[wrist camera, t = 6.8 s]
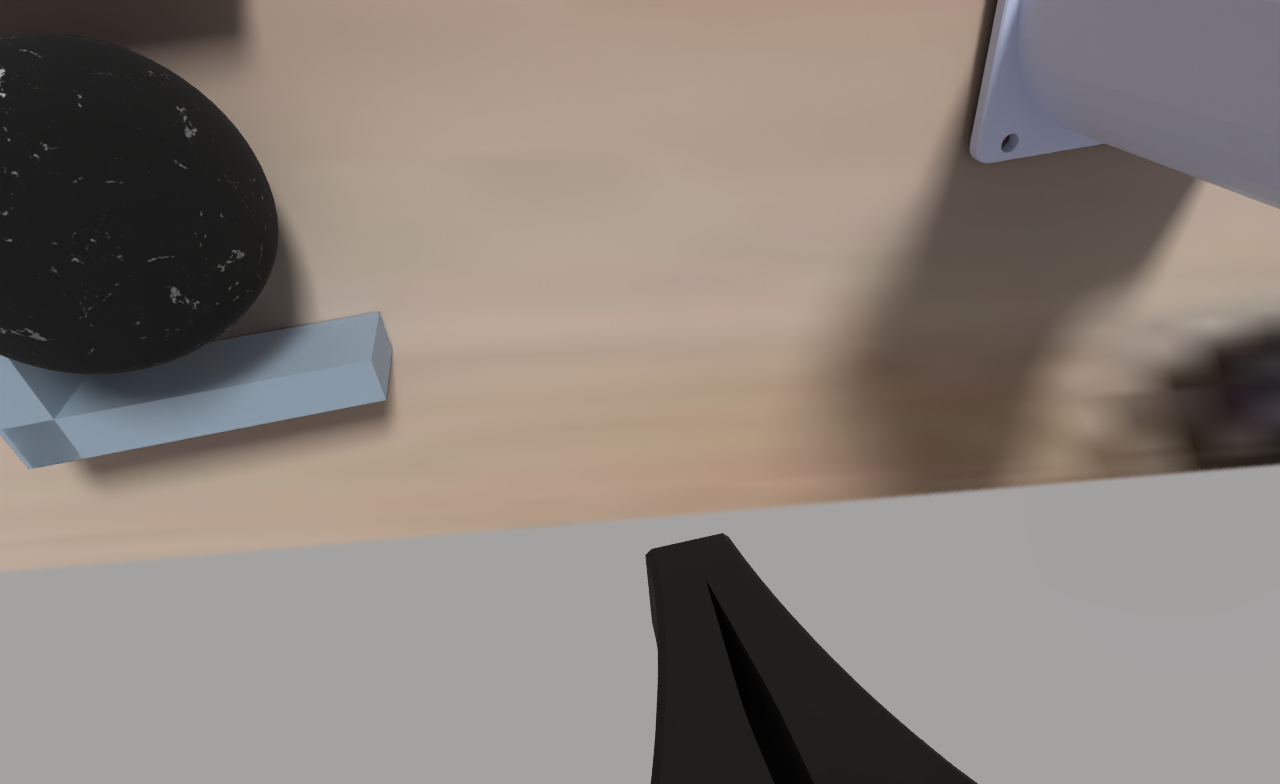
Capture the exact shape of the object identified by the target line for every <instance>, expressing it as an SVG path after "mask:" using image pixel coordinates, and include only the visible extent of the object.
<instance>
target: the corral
mask: <svg viewBox="0 0 1280 784" xmlns="http://www.w3.org/2000/svg"><path fill="white" fill-rule="evenodd" d="M391 356H392V346H391V344H390V341H389V338H388V335H387V332H386V329H385V326H384V324H383V321H382V318H381V315H380V312H375V313H370V314H364V315H358V316H353V317H347V318H342V319H336V320H330V321H325V322H319V323H313V324H308V325H302V326H297V327H291V328H285V329H280V330H274V331H268V332H263V333H257V334H252V335H246V336H240V337H235V338H229V339H223V340H218V341H212V342H210V343H208V344H206V345H205V346H203V347H201V348H199V349H198V350H196V351H194V352H192V353H190V354H188V355H186V356H183V357H181V358H179V359H176V360H173V361H171V362H168V363H165V364H162V365H159V366H155V367H151V368H147V369H143V370H137V371H131V372H125V373H116V374H76V373H66V372H60V371H53V370H48V369H43V368H39V367H35V366H31V365H28V364H24V363H21V362H18V361H15V360H12V359H9V358H6V357H4V356H2V355H0V435H1V436H2V437H3V439H4V440H5V441H6V442H7V443H8V445H9V446H10V447H11V448H12V450H13V451H14V452H15V453H16V454H17V456H18V457H19V458H20V459H21V461H22V462H23V463H24V464H25V465H26V467H27V468H28V469H33V468H38V467H43V466H49V465H54V464H59V463H64V462H69V461H74V460H80V459H85V458H90V457H95V456H100V455H105V454H111V453H116V452H121V451H126V450H131V449H136V448H142V447H147V446H152V445H157V444H162V443H167V442H172V441H178V440H183V439H188V438H193V437H198V436H203V435H209V434H214V433H219V432H224V431H229V430H234V429H240V428H245V427H250V426H255V425H260V424H265V423H271V422H276V421H281V420H286V419H291V418H296V417H301V416H307V415H312V414H317V413H322V412H327V411H332V410H338V409H343V408H348V407H353V406H358V405H363V404H369V403H374V402H379V401H384V400H386V396H387V388H388V380H389V372H390V364H391Z"/></svg>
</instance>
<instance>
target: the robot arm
mask: <svg viewBox="0 0 1280 784" xmlns="http://www.w3.org/2000/svg"><path fill="white" fill-rule="evenodd" d="M1007 135H1010V138H1009V140H1008V143H1007V144H1006V145H1005V146H1004V147H1002V148H1001V144H1002V142H1003V140H1004V139H1005V138H1006V136H1007ZM1100 144H1107V145H1110V146H1113V147H1115V148H1118V149H1121V150H1123V151H1126V152H1129V153H1131V154H1134V155H1137V156H1139V157H1142V158H1145V159H1147V160H1150V161H1153V162H1156V163H1158V164H1161V165H1164V166H1166V167H1169V168H1172V169H1174V170H1177V171H1180V172H1182V173H1185V174H1188V175H1190V176H1193V177H1196V178H1198V179H1201V180H1204V181H1206V182H1209V183H1212V184H1214V185H1217V186H1220V187H1222V188H1225V189H1228V190H1230V191H1233V192H1236V193H1238V194H1241V195H1244V196H1246V197H1249V198H1252V199H1255V200H1257V201H1260V202H1263V203H1265V204H1268V205H1271V206H1273V207H1276V208H1279V209H1280V0H998V2H997V7H996V12H995V17H994V23H993V28H992V33H991V38H990V43H989V49H988V54H987V59H986V64H985V69H984V75H983V80H982V85H981V90H980V95H979V100H978V106H977V111H976V116H975V121H974V126H973V132H972V137H971V142H970V153H971V155H972V157H973V158H975V159H976V160H978V161H980V162H982V163H994V162H999V161H1005V160H1011V159H1017V158H1023V157H1029V156H1035V155H1041V154H1047V153H1052V152H1058V151H1064V150H1070V149H1076V148H1082V147H1088V146H1094V145H1100ZM646 565H647V575H648V586H649V595H650V605H651V615H652V624H653V628H654V632H655V637H656V642H657V647H658V691H657V713H656V732H655V745H654V757H653V768H652V777H651V784H977V783H976V782H975V781H973V780H972V779H970V778H969V777H968V776H967V775H965V774H964V773H963V772H961V771H960V770H959V769H957V768H956V767H955V766H953V765H952V764H951V763H950V762H948V761H947V760H946V759H945V758H943V757H942V756H941V755H940V754H938V753H937V752H936V751H935V750H934V749H932V748H931V747H930V746H929V745H927V744H926V743H925V742H924V741H923V740H921V739H920V738H919V737H918V736H916V735H915V734H914V733H913V732H911V731H910V730H909V729H908V728H907V727H906V726H905V725H904V724H902V723H901V722H900V721H899V720H898V719H897V718H896V717H894V716H893V715H892V714H891V713H890V712H889V711H887V710H886V709H885V708H884V707H883V706H882V705H881V704H880V703H879V702H878V701H876V700H875V699H874V698H873V697H872V696H871V695H870V694H869V693H868V692H867V691H866V690H865V689H863V688H862V687H861V686H860V685H859V684H858V683H857V682H856V681H855V680H854V679H853V678H852V677H851V676H850V675H849V674H848V673H847V672H846V671H845V670H844V669H843V668H842V667H841V666H840V665H839V664H838V663H836V661H834V660H833V658H832V657H831V656H830V655H829V654H828V653H827V652H826V651H825V650H824V649H823V648H822V647H821V646H820V645H819V644H818V643H817V642H816V641H815V640H814V639H813V638H812V637H811V635H810V634H809V633H808V632H807V631H806V630H805V629H804V628H803V627H802V626H801V625H800V624H799V622H798V621H797V620H796V619H795V618H794V617H793V616H792V615H791V614H790V613H789V612H788V611H787V609H786V608H785V607H784V606H783V605H782V604H781V603H780V601H779V600H778V599H777V598H776V597H775V596H774V594H773V593H772V592H771V591H770V590H769V588H768V587H767V586H766V585H765V584H764V582H763V581H762V580H761V579H760V578H759V576H758V575H757V574H756V573H755V571H754V570H753V569H752V568H751V566H750V565H749V564H748V562H747V561H746V560H745V559H744V557H743V556H742V555H741V553H740V552H739V551H738V549H737V548H736V546H735V545H734V544H733V542H732V541H731V539H730V538H729V537H728V536H726V535H724V534H723V533H721V534H717V535H712V536H708V537H703V538H699V539H694V540H690V541H685V542H681V543H676V544H672V545H667V546H663V547H658V548H654V549H651V550H650V551H649V552H648V553H647V554H646Z"/></svg>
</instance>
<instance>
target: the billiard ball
mask: <svg viewBox="0 0 1280 784" xmlns="http://www.w3.org/2000/svg"><path fill="white" fill-rule="evenodd" d="M277 245H278V222H277V213H276V208H275V203H274V199H273V195H272V192H271V189H270V186H269V183H268V181H267V179H266V176H265V174H264V172H263V169H262V167H261V165H260V163H259V162H258V160H257V158H256V156H255V154H254V152H253V151H252V149H251V148H250V146H249V145H248V143H247V141H246V140H245V139H244V137H243V136H242V135H241V133H240V132H239V131H238V129H237V128H236V127H235V126H234V124H233V123H232V122H231V121H230V120H229V119H228V118H227V117H226V115H225V114H224V113H223V112H222V111H221V110H220V109H219V108H218V107H217V106H216V105H215V104H214V103H213V102H212V101H210V100H209V99H208V98H207V97H206V96H205V95H203V94H202V93H201V92H200V91H199V90H197V89H196V88H195V87H193V86H192V85H191V84H189V83H188V82H187V81H185V80H184V79H183V78H181V77H179V76H178V75H176V74H175V73H173V72H172V71H170V70H169V69H167V68H165V67H163V66H161V65H160V64H158V63H156V62H154V61H152V60H150V59H148V58H146V57H144V56H141V55H139V54H137V53H135V52H132V51H130V50H127V49H124V48H122V47H119V46H116V45H113V44H110V43H106V42H102V41H98V40H94V39H89V38H82V37H76V36H69V35H52V34H36V35H19V36H13V37H6V38H0V355H2V356H4V357H6V358H9V359H12V360H15V361H18V362H21V363H24V364H28V365H31V366H35V367H39V368H43V369H48V370H53V371H60V372H66V373H76V374H116V373H125V372H131V371H137V370H143V369H147V368H151V367H155V366H159V365H162V364H165V363H168V362H171V361H173V360H176V359H179V358H181V357H183V356H186V355H188V354H190V353H192V352H194V351H196V350H198V349H199V348H201V347H203V346H205V345H206V344H208V343H210V342H211V341H213V340H214V339H215V338H217V337H218V336H219V335H221V334H222V333H223V332H225V331H226V330H227V329H229V328H230V327H231V326H232V325H233V324H234V323H235V322H236V321H238V320H239V319H240V318H241V317H242V315H243V314H244V313H245V312H246V311H247V310H248V309H249V308H250V306H251V305H252V304H253V303H254V301H255V300H256V298H257V297H258V295H259V294H260V292H261V291H262V289H263V288H264V286H265V284H266V282H267V280H268V278H269V275H270V273H271V270H272V267H273V264H274V261H275V257H276V251H277Z"/></svg>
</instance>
